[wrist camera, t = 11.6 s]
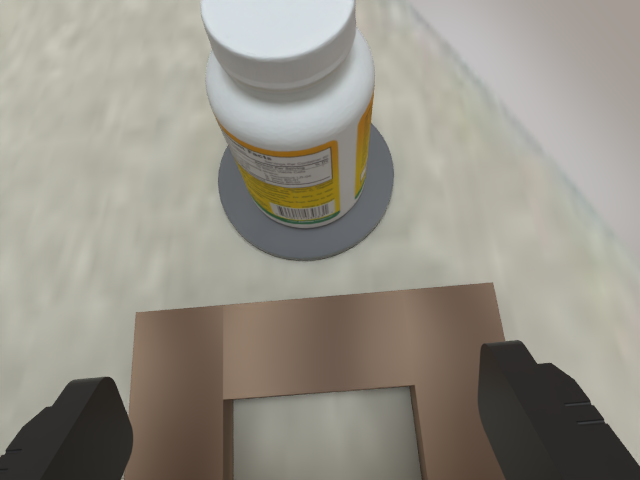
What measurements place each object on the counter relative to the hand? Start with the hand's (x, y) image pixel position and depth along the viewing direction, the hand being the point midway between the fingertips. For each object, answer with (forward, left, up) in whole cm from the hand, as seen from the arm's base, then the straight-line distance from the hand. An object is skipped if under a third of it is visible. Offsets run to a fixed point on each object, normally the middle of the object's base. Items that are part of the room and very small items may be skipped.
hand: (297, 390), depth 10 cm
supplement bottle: (0, +9, -8) cm, 12 cm away
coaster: (0, +10, -8) cm, 13 cm away
